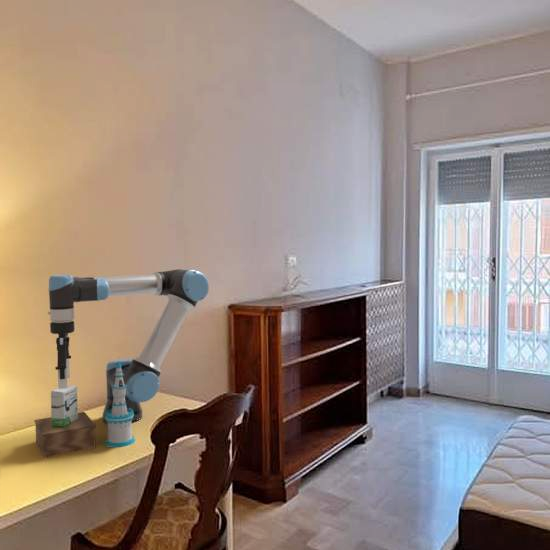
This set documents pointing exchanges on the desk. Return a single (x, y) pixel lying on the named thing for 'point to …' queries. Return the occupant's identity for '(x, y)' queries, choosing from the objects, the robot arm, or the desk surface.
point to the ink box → (64, 406)
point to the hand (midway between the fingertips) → (64, 383)
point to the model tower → (119, 415)
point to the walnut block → (65, 436)
